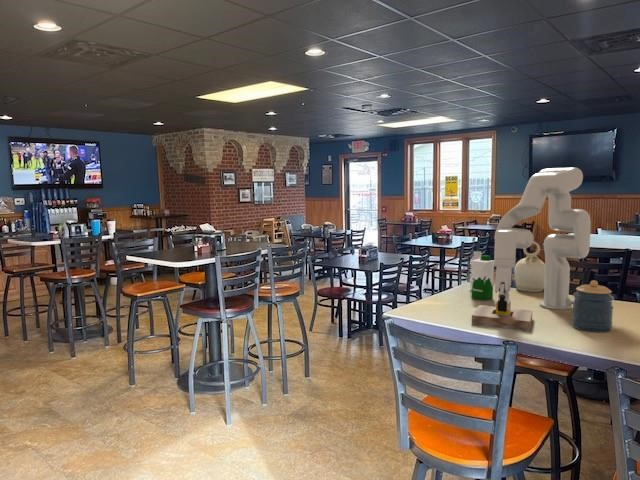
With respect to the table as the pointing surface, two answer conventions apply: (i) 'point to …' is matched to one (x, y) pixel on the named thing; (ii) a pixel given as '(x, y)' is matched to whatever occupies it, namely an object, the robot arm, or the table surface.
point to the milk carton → (482, 278)
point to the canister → (592, 308)
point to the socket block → (502, 318)
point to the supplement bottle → (507, 307)
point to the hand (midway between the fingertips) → (503, 308)
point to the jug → (530, 272)
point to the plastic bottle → (476, 256)
